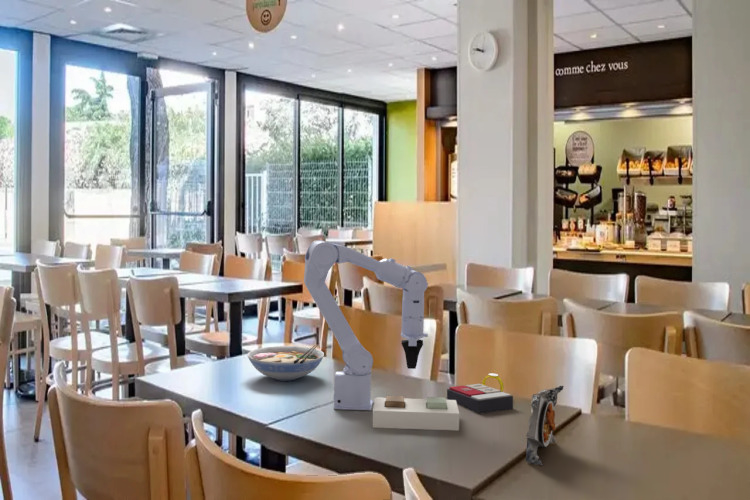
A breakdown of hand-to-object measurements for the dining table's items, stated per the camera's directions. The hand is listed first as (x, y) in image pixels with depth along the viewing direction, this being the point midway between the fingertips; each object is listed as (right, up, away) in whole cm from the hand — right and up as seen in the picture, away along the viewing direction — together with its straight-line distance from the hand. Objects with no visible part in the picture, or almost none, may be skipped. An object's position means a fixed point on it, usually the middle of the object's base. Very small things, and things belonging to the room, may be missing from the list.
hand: (411, 368), depth 176 cm
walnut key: (-5, -8, -14) cm, 17 cm away
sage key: (+5, -9, -15) cm, 18 cm away
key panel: (0, -10, -14) cm, 18 cm away
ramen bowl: (-36, -7, +24) cm, 44 cm away
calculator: (+18, -10, +2) cm, 21 cm away
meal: (+26, -12, -33) cm, 44 cm away
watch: (+23, -10, +10) cm, 27 cm away
